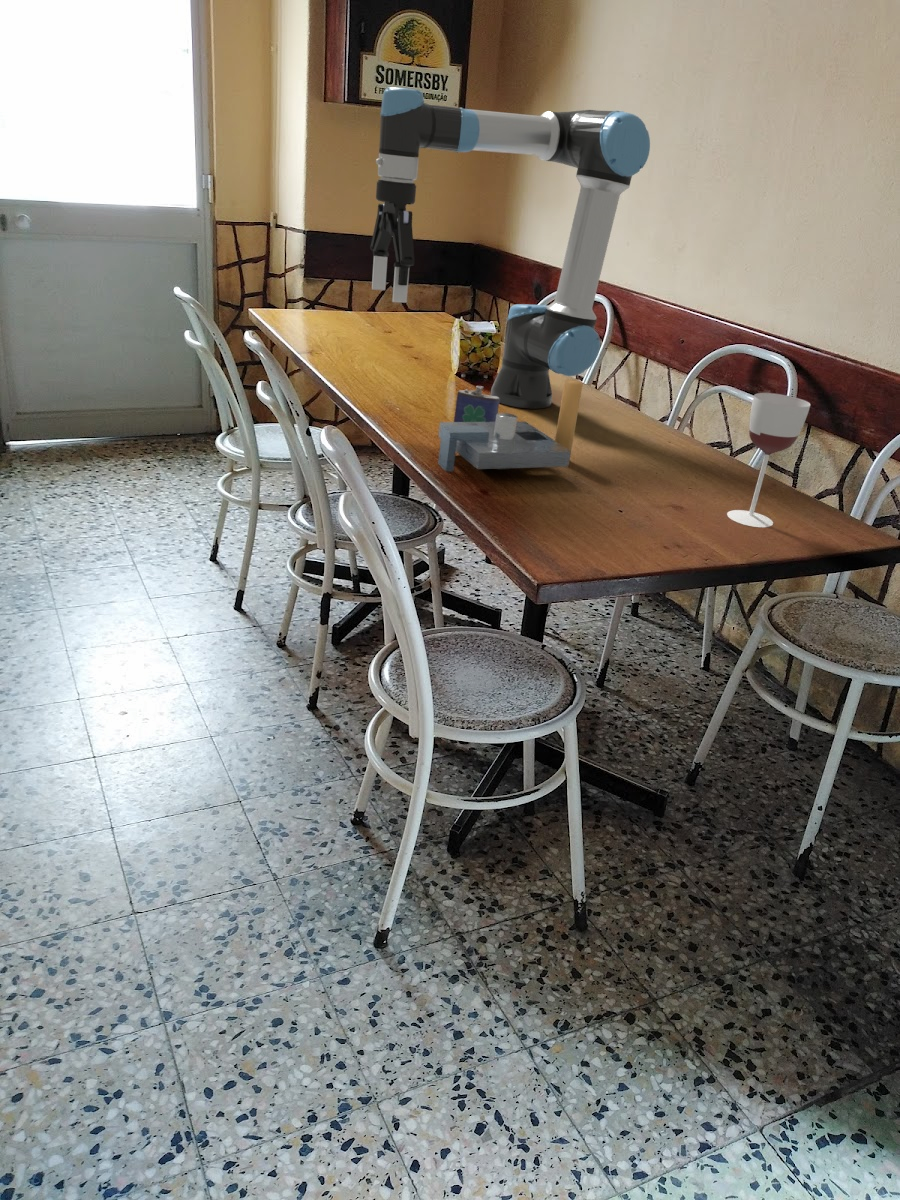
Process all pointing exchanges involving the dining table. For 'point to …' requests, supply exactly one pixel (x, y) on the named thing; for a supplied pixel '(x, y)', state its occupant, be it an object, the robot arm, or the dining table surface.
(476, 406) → the flask
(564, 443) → the light orange cylinder
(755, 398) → the wineglass
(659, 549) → the dining table surface
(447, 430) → the grey plate
